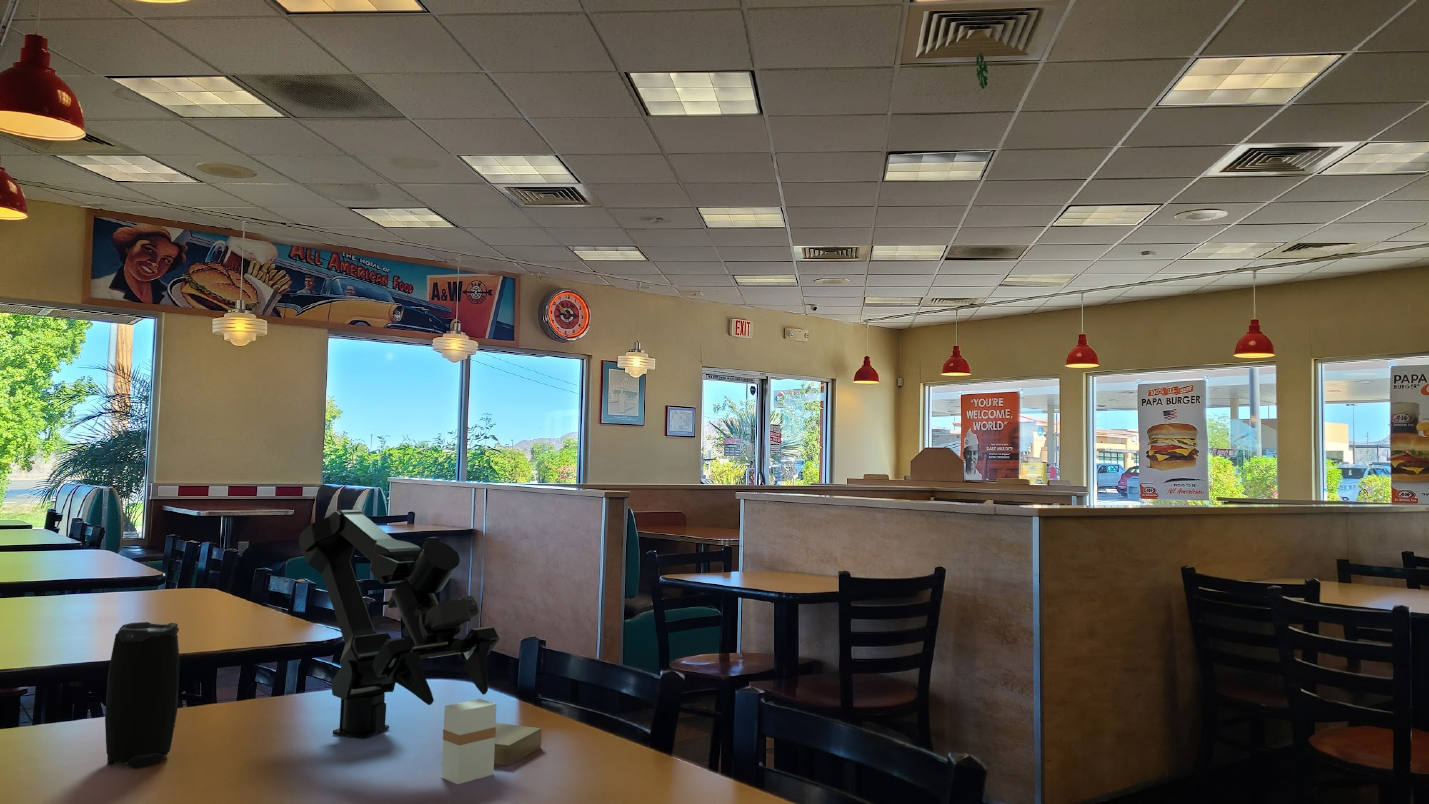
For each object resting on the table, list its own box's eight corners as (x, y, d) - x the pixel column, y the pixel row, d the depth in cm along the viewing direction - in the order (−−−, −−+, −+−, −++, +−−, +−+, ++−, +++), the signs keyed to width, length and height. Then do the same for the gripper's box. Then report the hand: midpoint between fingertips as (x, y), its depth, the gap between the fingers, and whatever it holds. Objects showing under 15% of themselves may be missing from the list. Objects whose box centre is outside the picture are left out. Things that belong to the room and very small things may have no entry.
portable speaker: (186, 752, 142) (195, 621, 143) (145, 773, 133) (155, 631, 134) (131, 750, 142) (140, 619, 144) (86, 770, 133) (97, 629, 134)
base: (449, 757, 143) (450, 737, 143) (485, 740, 152) (486, 721, 153) (507, 766, 140) (508, 745, 140) (540, 747, 149) (541, 728, 149)
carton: (440, 777, 134) (444, 705, 135) (477, 768, 139) (480, 698, 139) (457, 784, 131) (460, 711, 132) (493, 774, 136) (496, 703, 137)
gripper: (386, 583, 135) (425, 673, 127) (494, 574, 149) (536, 655, 141) (356, 632, 140) (392, 722, 132) (464, 619, 154) (502, 699, 146)
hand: (459, 697), depth 138 cm, fingers open, 9 cm apart
